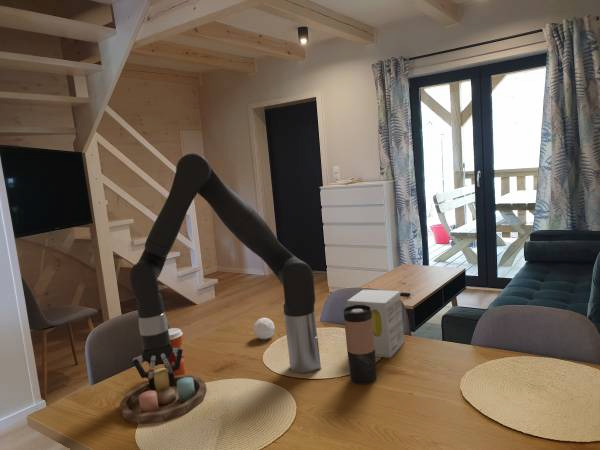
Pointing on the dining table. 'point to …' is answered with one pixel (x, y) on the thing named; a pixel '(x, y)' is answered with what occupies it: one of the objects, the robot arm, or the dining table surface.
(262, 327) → the geometric ball
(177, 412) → the walnut tray
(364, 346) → the travel mug
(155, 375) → the ochre bead
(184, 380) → the pale blue rounded piece
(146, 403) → the pink rounded piece
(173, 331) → the paper cup
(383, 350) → the supplement box
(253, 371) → the dining table surface
